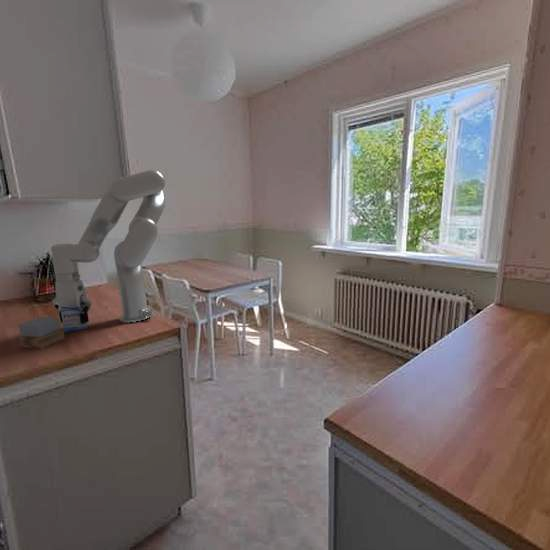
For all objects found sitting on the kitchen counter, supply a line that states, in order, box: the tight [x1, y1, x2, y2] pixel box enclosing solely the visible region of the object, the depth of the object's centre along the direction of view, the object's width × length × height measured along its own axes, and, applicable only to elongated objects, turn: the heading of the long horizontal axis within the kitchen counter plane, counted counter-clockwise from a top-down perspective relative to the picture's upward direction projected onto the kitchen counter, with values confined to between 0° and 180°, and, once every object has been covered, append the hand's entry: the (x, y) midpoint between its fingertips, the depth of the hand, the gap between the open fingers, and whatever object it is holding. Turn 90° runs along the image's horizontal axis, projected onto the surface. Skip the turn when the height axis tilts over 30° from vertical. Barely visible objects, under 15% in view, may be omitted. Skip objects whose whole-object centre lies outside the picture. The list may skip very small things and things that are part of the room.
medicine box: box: [61, 307, 89, 334], centre depth 129 cm, size 8×4×9 cm, turn 119°
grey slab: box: [18, 316, 61, 337], centre depth 117 cm, size 8×8×4 cm
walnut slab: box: [18, 327, 65, 350], centre depth 118 cm, size 9×9×4 cm
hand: (74, 321), depth 129 cm, fingers closed on medicine box, 8 cm apart
